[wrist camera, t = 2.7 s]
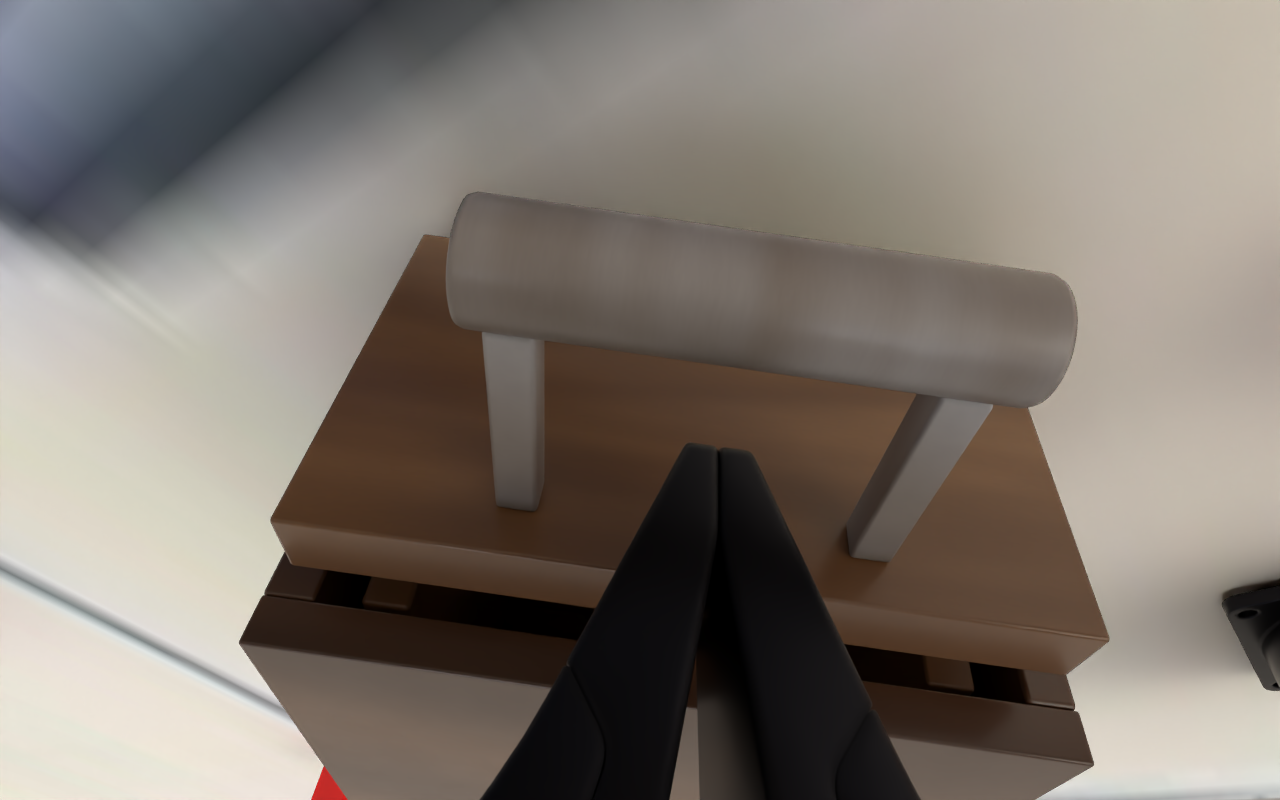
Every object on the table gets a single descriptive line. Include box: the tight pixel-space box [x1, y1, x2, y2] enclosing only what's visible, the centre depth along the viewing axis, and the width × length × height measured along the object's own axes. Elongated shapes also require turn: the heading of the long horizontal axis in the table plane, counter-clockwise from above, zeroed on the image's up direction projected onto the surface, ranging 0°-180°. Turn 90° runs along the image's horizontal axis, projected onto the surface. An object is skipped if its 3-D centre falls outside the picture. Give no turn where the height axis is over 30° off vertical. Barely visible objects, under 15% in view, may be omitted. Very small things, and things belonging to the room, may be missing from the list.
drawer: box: [271, 192, 1109, 696], centre depth 15 cm, size 18×11×7 cm, turn 174°
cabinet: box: [239, 552, 1094, 800], centre depth 19 cm, size 15×13×9 cm
